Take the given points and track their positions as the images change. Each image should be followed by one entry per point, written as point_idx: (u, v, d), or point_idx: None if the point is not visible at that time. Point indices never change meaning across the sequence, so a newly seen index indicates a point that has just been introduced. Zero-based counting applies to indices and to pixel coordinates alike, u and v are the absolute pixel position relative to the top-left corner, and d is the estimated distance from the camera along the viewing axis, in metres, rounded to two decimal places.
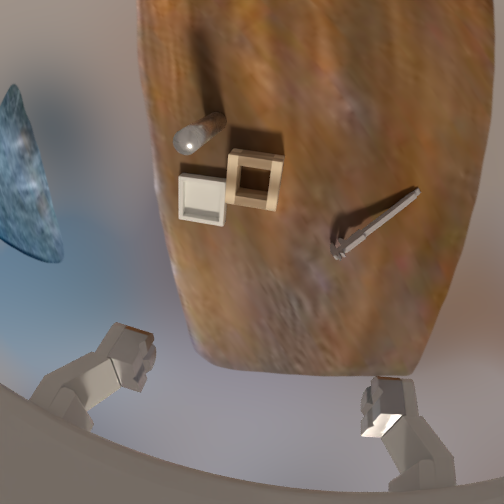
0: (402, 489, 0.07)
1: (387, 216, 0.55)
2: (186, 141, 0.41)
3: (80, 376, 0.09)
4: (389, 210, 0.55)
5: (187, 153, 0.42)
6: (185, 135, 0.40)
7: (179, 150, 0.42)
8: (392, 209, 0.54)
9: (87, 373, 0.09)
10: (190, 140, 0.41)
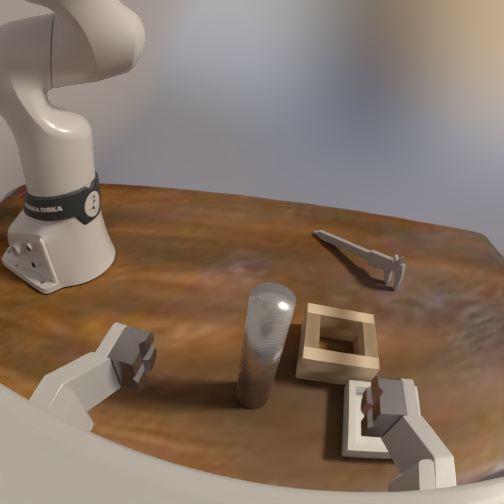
0: (402, 489, 0.07)
1: (345, 242, 0.58)
2: (271, 296, 0.25)
3: (80, 375, 0.09)
4: (340, 244, 0.59)
5: (293, 298, 0.25)
6: (260, 295, 0.25)
7: (287, 308, 0.24)
8: (338, 241, 0.59)
9: (87, 373, 0.09)
10: (270, 291, 0.26)
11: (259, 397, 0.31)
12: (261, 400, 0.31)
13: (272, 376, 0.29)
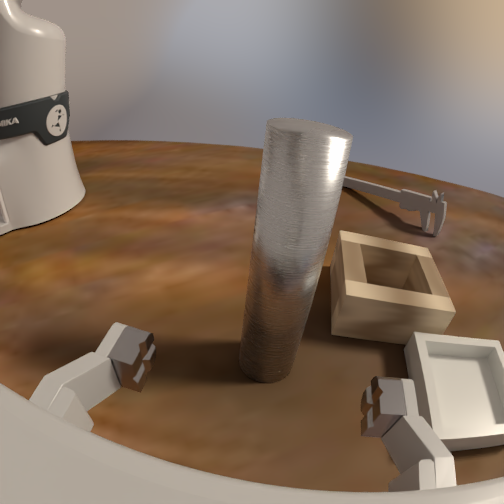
0: (402, 489, 0.07)
1: (370, 183, 0.46)
2: (307, 126, 0.13)
3: (80, 376, 0.09)
4: (363, 187, 0.46)
5: (346, 133, 0.13)
6: (287, 124, 0.13)
7: (341, 137, 0.12)
8: (360, 184, 0.47)
9: (87, 373, 0.09)
10: (303, 123, 0.13)
11: (281, 358, 0.18)
12: (283, 366, 0.19)
13: (305, 312, 0.17)
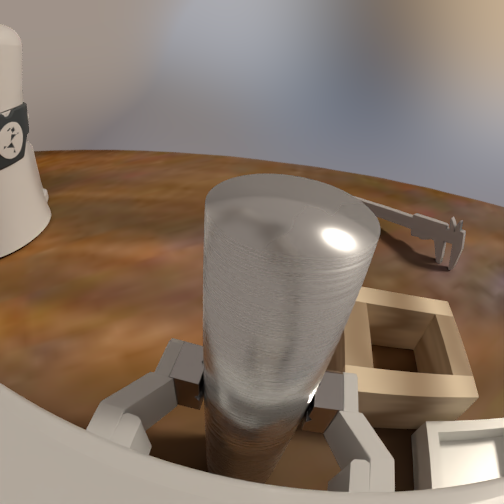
0: (336, 489, 0.07)
1: (377, 205, 0.39)
2: (290, 202, 0.07)
3: (142, 399, 0.08)
4: None
5: (367, 214, 0.07)
6: (249, 199, 0.07)
7: (359, 238, 0.06)
8: None
9: (149, 395, 0.09)
10: (283, 190, 0.07)
11: (254, 479, 0.12)
12: (258, 481, 0.13)
13: (285, 446, 0.11)
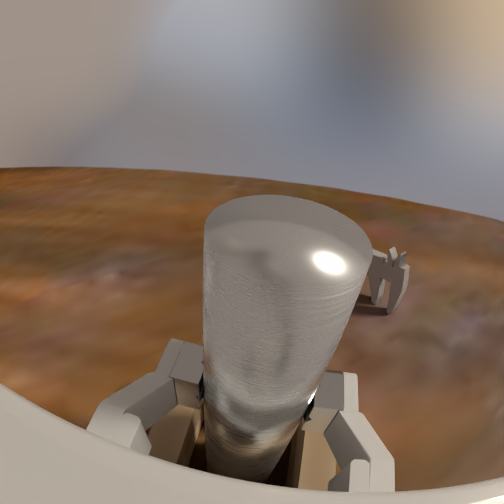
0: (336, 489, 0.07)
1: None
2: (286, 227, 0.07)
3: (142, 399, 0.08)
4: None
5: (360, 237, 0.07)
6: (246, 223, 0.07)
7: (351, 264, 0.06)
8: None
9: (149, 395, 0.09)
10: (279, 213, 0.07)
11: None
12: None
13: (282, 451, 0.11)
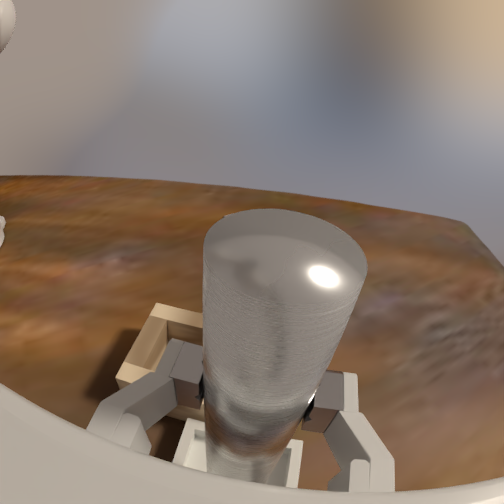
0: (336, 489, 0.07)
1: None
2: (283, 242, 0.07)
3: (142, 399, 0.08)
4: None
5: (355, 251, 0.07)
6: (245, 240, 0.07)
7: (346, 280, 0.06)
8: None
9: (149, 395, 0.09)
10: (277, 229, 0.08)
11: None
12: None
13: (280, 454, 0.11)
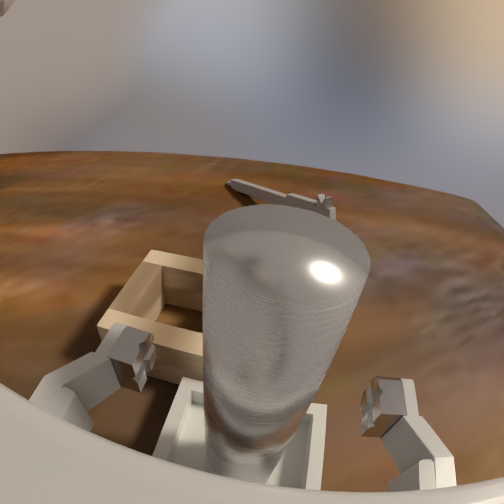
0: (402, 489, 0.07)
1: (260, 188, 0.43)
2: (284, 238, 0.07)
3: (80, 376, 0.09)
4: (253, 192, 0.44)
5: (358, 247, 0.07)
6: (245, 235, 0.07)
7: (349, 276, 0.06)
8: (251, 188, 0.44)
9: (87, 373, 0.09)
10: (278, 224, 0.08)
11: None
12: None
13: (281, 454, 0.11)
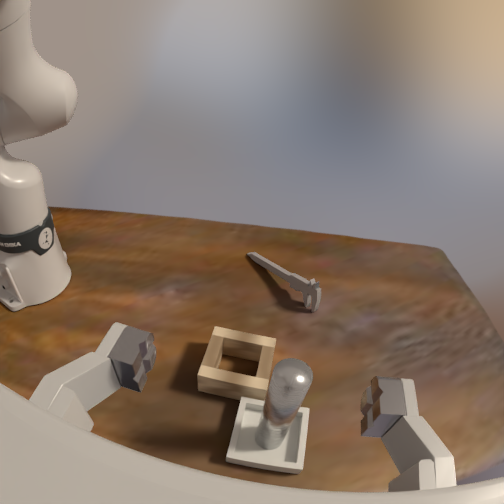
0: (402, 489, 0.07)
1: (272, 264, 0.63)
2: (292, 372, 0.28)
3: (80, 376, 0.09)
4: (267, 266, 0.64)
5: (310, 373, 0.28)
6: (282, 372, 0.27)
7: (306, 383, 0.27)
8: (266, 263, 0.65)
9: (87, 373, 0.09)
10: (290, 367, 0.28)
11: (277, 442, 0.33)
12: (278, 443, 0.34)
13: (289, 427, 0.32)
